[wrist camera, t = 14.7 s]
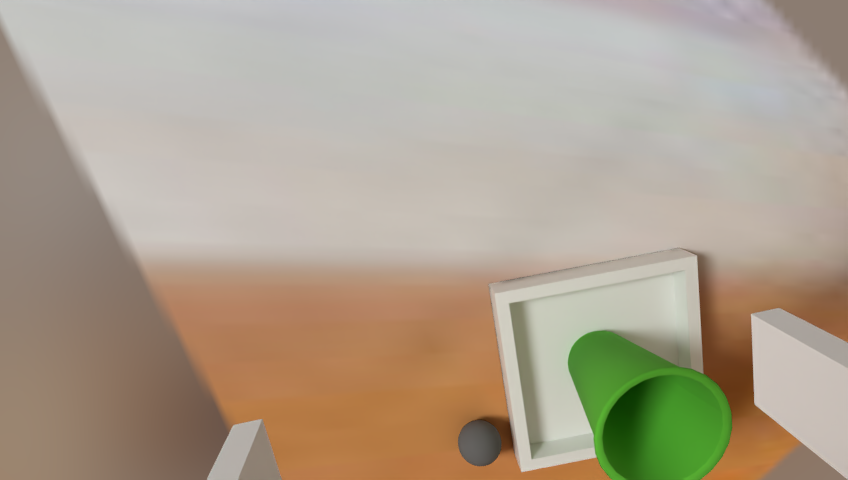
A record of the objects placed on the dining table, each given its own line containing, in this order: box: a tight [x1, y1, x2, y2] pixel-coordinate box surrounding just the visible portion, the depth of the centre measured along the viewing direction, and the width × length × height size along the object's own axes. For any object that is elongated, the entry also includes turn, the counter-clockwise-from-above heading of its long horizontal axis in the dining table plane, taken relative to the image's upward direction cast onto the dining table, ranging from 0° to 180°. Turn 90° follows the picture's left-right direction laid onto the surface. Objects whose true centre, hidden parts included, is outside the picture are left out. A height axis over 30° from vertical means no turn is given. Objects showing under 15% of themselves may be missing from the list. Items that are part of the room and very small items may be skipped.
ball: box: [458, 420, 501, 466], centre depth 43 cm, size 4×4×4 cm
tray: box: [489, 248, 703, 472], centre depth 43 cm, size 16×16×2 cm
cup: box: [568, 331, 732, 480], centre depth 38 cm, size 9×9×11 cm
